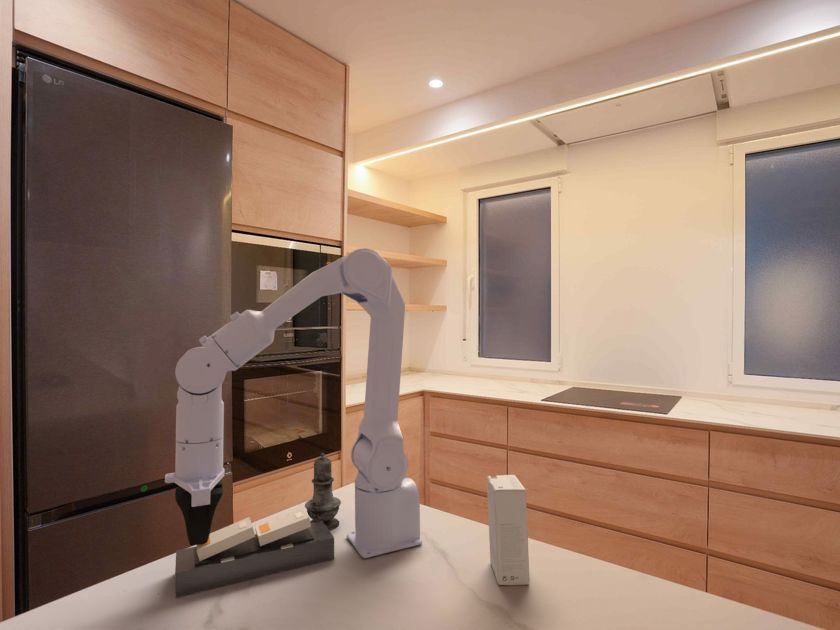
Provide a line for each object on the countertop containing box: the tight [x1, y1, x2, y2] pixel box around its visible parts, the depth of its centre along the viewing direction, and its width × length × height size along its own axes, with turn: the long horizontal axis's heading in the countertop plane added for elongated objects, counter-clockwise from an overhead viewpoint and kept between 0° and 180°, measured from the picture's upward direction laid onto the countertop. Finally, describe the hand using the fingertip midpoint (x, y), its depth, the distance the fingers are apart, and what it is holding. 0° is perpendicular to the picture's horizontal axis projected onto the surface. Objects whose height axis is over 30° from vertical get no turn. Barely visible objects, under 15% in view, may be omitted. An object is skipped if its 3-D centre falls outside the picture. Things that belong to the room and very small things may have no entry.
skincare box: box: [486, 474, 530, 586], centre depth 63 cm, size 6×4×12 cm
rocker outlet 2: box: [254, 507, 311, 546], centre depth 67 cm, size 7×4×2 cm, turn 117°
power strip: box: [174, 521, 335, 599], centre depth 65 cm, size 20×6×3 cm, turn 116°
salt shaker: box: [304, 452, 342, 532], centre depth 78 cm, size 6×6×12 cm
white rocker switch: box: [196, 516, 256, 561], centre depth 63 cm, size 7×4×2 cm, turn 117°
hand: (198, 542), depth 62 cm, fingers closed, pressing on white rocker switch
